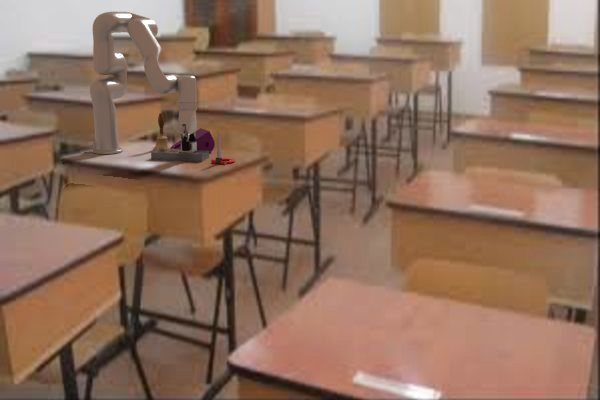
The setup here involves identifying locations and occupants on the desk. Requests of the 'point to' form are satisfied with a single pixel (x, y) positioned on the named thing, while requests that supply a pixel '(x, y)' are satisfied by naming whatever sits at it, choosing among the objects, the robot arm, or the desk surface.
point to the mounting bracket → (200, 141)
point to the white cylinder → (191, 148)
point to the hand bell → (161, 135)
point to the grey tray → (179, 155)
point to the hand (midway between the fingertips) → (189, 148)
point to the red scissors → (218, 158)
